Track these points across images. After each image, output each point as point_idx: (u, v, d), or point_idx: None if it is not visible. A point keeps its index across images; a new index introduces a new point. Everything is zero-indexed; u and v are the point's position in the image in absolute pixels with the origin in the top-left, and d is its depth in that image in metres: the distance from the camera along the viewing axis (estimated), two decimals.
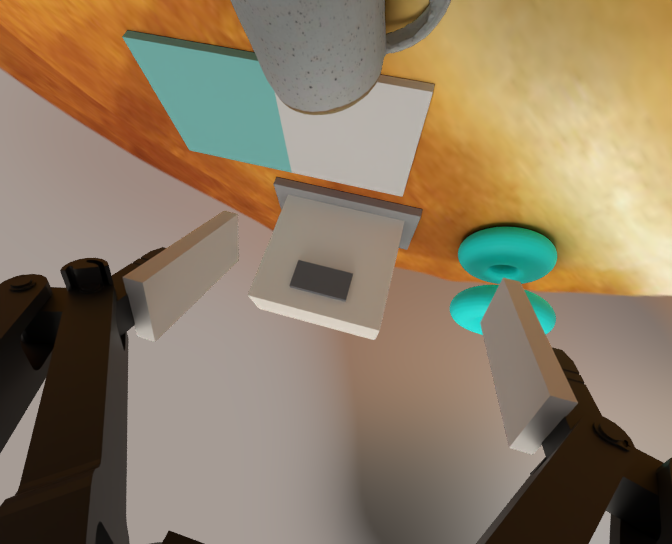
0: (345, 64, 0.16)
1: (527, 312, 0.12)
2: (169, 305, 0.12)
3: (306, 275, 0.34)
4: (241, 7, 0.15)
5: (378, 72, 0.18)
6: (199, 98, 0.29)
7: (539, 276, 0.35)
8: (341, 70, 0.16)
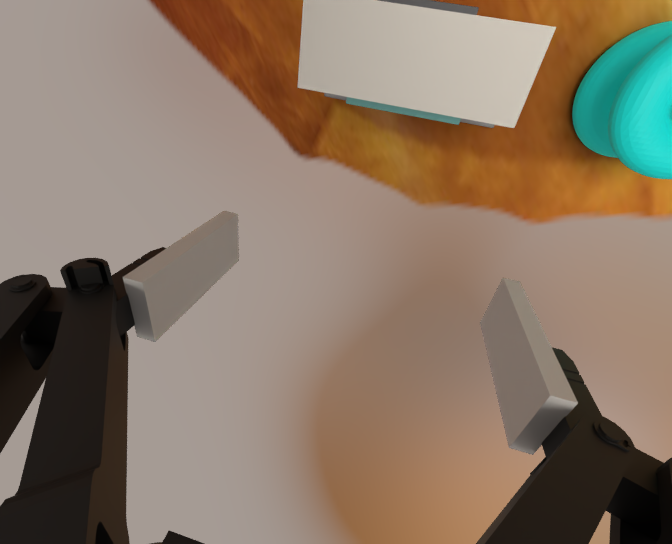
0: None
1: (527, 312, 0.12)
2: (169, 305, 0.12)
3: None
4: None
5: None
6: None
7: None
8: None
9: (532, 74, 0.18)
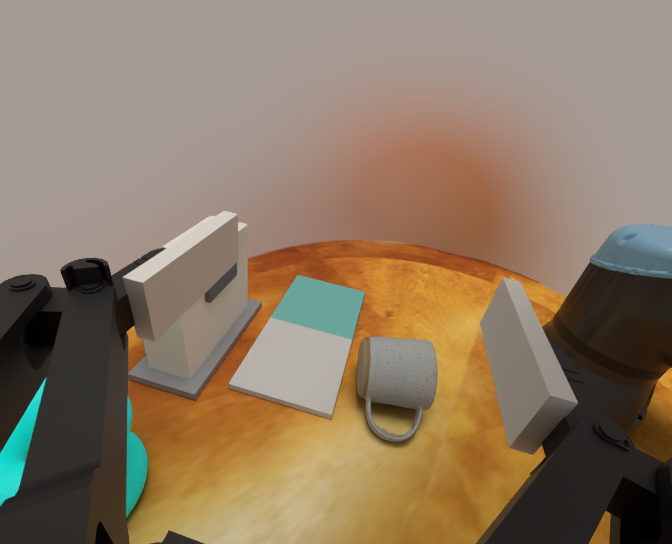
0: (393, 369, 0.34)
1: (527, 312, 0.12)
2: (169, 305, 0.12)
3: (231, 270, 0.38)
4: (415, 340, 0.38)
5: (371, 388, 0.34)
6: (333, 300, 0.52)
7: None
8: (390, 366, 0.34)
9: None
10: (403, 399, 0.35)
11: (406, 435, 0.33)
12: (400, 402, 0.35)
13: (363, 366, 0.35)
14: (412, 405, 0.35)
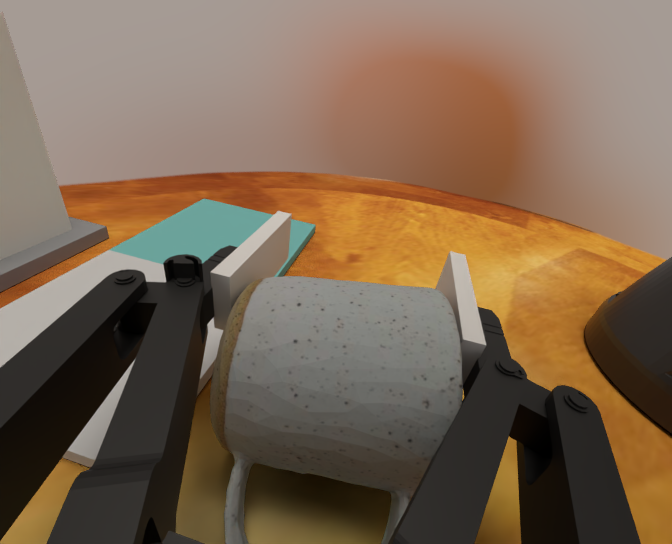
0: (309, 364, 0.10)
1: (463, 278, 0.14)
2: None
3: None
4: (397, 286, 0.13)
5: (236, 428, 0.10)
6: (252, 232, 0.29)
7: None
8: (303, 355, 0.10)
9: None
10: (346, 467, 0.10)
11: None
12: (338, 474, 0.11)
13: (218, 353, 0.11)
14: (378, 484, 0.11)
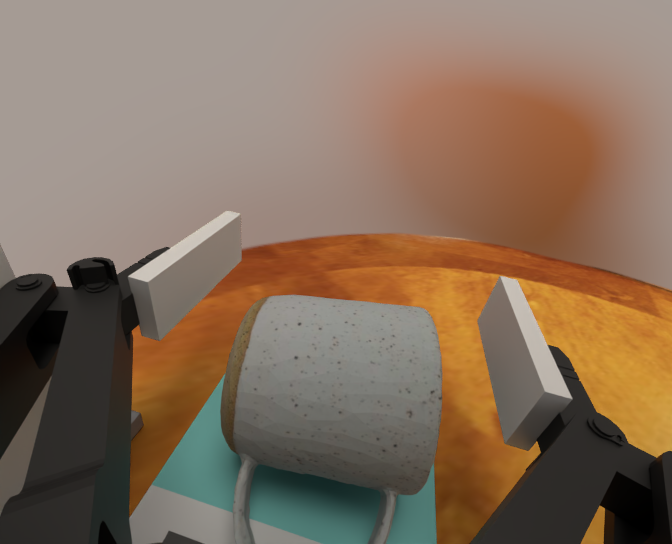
0: (308, 378, 0.11)
1: (523, 310, 0.13)
2: (173, 304, 0.12)
3: None
4: (388, 305, 0.15)
5: (244, 433, 0.12)
6: None
7: None
8: (302, 370, 0.11)
9: None
10: (340, 468, 0.12)
11: None
12: (333, 475, 0.12)
13: (228, 367, 0.12)
14: (368, 484, 0.12)
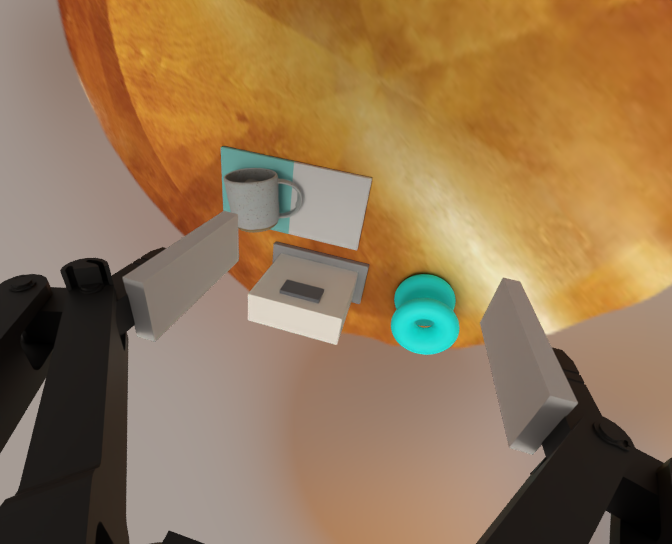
0: (261, 214, 0.47)
1: (527, 312, 0.12)
2: (169, 305, 0.12)
3: (292, 286, 0.48)
4: (229, 193, 0.46)
5: (275, 221, 0.50)
6: None
7: None
8: (259, 215, 0.47)
9: (338, 330, 0.46)
10: (276, 197, 0.48)
11: (298, 191, 0.49)
12: (278, 197, 0.49)
13: None
14: (278, 188, 0.49)
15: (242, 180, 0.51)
